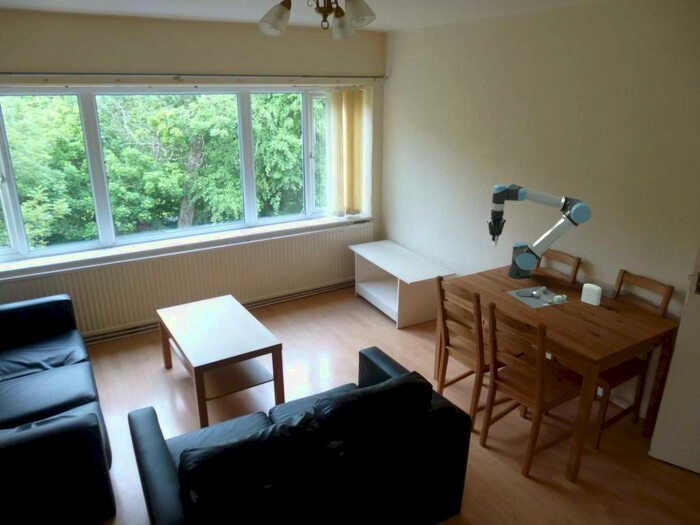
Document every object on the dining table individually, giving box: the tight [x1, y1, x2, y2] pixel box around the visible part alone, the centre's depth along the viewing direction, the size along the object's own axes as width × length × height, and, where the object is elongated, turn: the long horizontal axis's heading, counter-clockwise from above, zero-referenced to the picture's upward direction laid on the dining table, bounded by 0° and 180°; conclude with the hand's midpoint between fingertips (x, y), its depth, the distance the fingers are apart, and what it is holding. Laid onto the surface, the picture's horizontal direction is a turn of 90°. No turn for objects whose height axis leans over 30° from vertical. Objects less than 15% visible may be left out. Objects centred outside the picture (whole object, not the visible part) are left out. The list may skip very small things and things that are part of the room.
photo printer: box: [580, 283, 603, 306], centre depth 289 cm, size 10×4×12 cm, turn 39°
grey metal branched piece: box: [516, 286, 552, 303], centre depth 300 cm, size 22×19×3 cm
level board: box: [505, 285, 571, 309], centre depth 299 cm, size 26×26×5 cm
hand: (494, 245), depth 319 cm, fingers closed
